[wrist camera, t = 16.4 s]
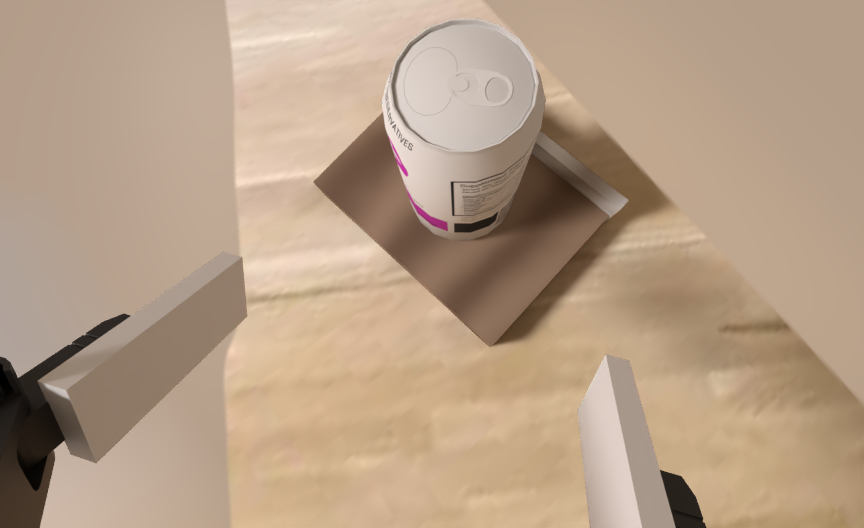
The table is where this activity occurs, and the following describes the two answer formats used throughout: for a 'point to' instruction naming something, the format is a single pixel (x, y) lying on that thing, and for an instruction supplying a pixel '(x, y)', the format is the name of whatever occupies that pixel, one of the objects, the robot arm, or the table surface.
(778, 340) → the table surface
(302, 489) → the table surface
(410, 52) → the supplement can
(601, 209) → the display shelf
